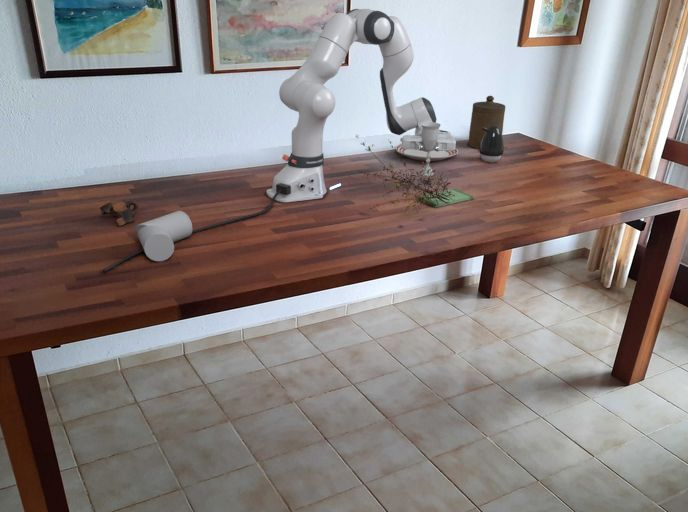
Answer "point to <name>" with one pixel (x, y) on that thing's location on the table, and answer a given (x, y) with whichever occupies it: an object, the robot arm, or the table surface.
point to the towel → (458, 197)
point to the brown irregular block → (120, 210)
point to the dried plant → (413, 185)
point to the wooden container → (485, 119)
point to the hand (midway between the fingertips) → (429, 148)
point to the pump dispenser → (491, 144)
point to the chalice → (429, 141)
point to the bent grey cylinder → (163, 234)
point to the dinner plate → (422, 155)
